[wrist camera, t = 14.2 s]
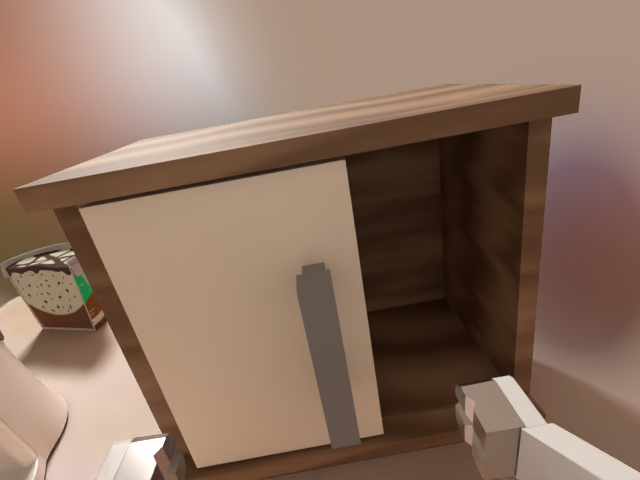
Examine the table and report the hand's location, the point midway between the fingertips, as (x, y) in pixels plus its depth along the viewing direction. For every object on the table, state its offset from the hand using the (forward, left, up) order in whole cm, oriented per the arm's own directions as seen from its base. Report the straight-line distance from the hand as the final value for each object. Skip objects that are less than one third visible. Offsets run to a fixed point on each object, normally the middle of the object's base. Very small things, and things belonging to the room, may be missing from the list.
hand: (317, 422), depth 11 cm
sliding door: (+6, +7, -14) cm, 17 cm away
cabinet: (+16, +8, -15) cm, 24 cm away
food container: (+16, +47, -16) cm, 52 cm away
